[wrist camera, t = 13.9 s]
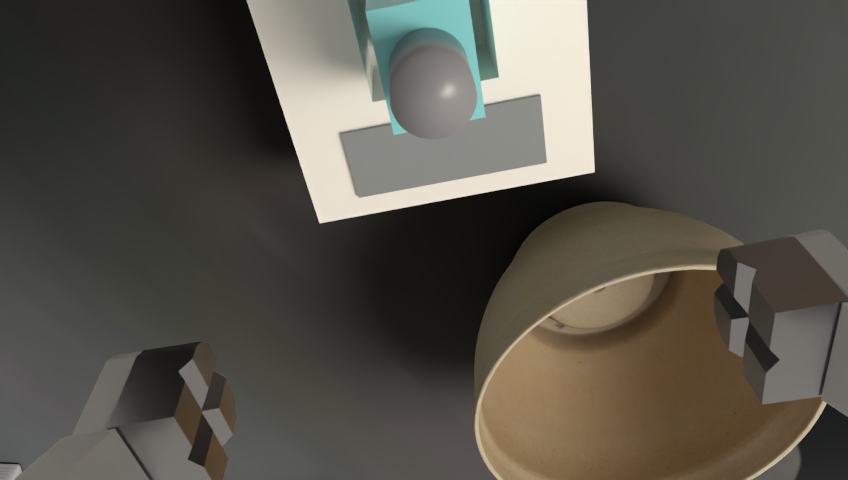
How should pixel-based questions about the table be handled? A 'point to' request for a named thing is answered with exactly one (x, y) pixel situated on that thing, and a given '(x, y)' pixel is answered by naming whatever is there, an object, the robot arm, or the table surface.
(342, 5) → the white box
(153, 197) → the table surface
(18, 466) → the light bulb box
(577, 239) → the planter bowl
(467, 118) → the plug
